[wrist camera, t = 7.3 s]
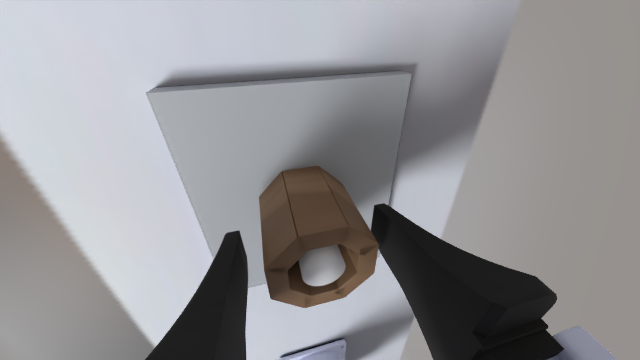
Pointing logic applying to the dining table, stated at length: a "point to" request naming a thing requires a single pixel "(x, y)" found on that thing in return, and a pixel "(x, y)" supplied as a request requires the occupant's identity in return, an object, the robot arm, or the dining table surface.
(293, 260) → the tube
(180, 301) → the dining table surface
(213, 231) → the post plate
